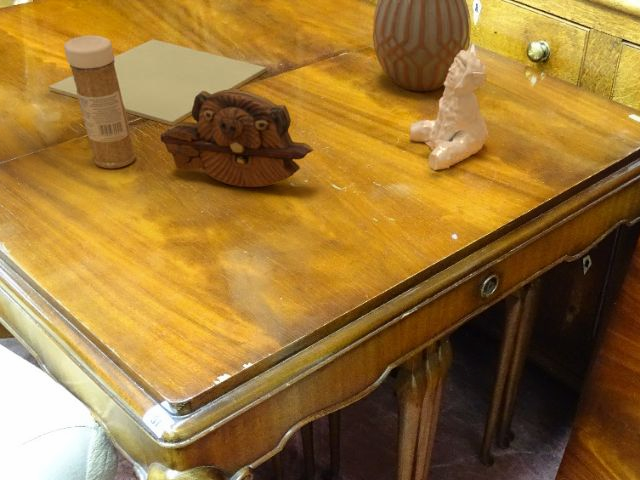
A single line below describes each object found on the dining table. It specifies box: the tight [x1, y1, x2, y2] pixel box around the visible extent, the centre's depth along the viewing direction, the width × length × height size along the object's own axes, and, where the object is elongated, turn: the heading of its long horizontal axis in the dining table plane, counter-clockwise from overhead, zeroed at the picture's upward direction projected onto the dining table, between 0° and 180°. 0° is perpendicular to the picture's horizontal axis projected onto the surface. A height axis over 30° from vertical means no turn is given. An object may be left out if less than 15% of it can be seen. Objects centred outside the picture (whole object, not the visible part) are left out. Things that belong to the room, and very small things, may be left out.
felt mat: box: [48, 39, 268, 127], centre depth 104 cm, size 20×20×1 cm
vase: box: [372, 0, 472, 92], centre depth 102 cm, size 13×13×18 cm
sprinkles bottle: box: [63, 35, 136, 169], centre depth 83 cm, size 5×5×14 cm
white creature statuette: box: [409, 49, 490, 171], centre depth 89 cm, size 10×9×12 cm
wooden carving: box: [160, 88, 314, 188], centre depth 82 cm, size 16×5×10 cm, turn 82°
